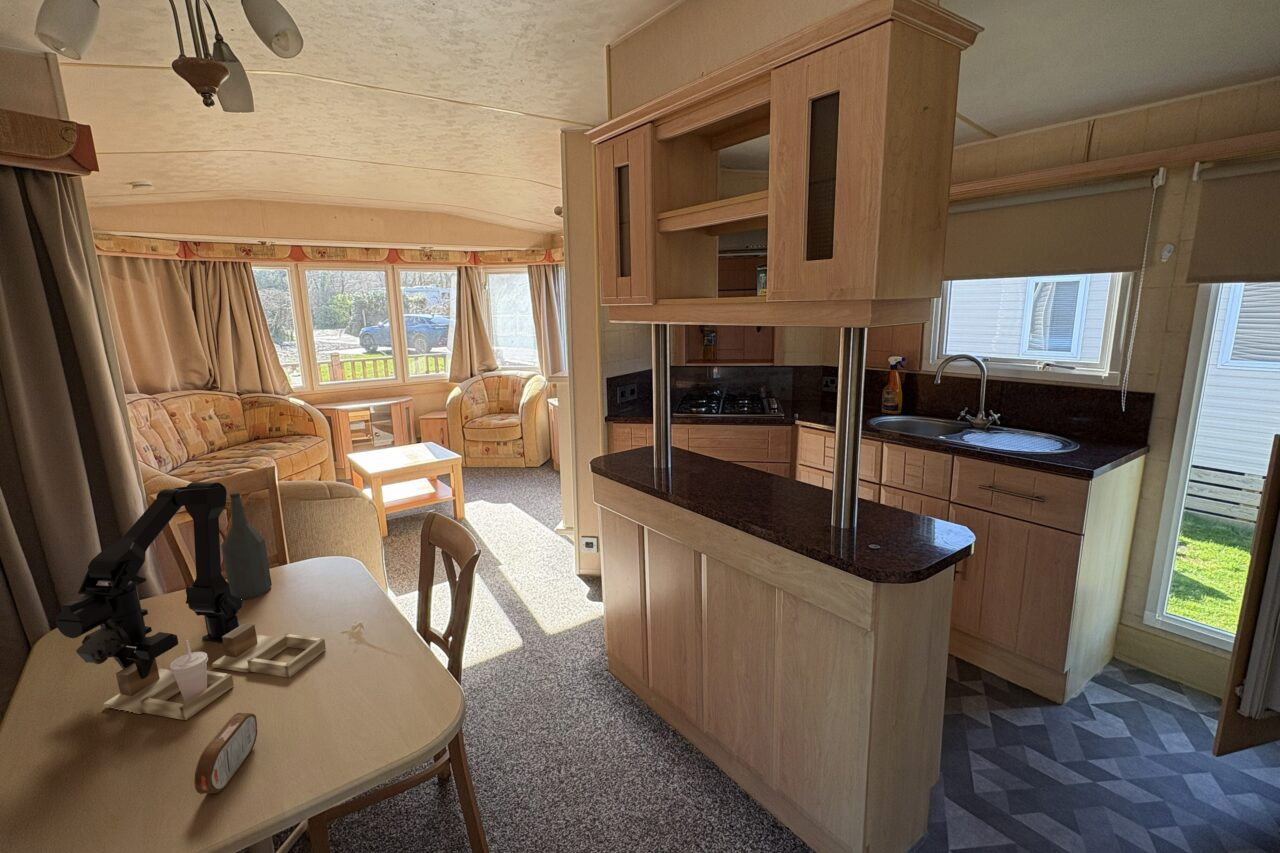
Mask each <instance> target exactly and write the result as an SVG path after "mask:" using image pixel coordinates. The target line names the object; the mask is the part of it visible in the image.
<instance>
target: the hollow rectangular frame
mask: <svg viewBox="0 0 1280 853" xmlns="http://www.w3.org/2000/svg"><path fill="white" fill-rule="evenodd" d="M222 639H223V642H222V644H223V649H224V655H223V656H221V657H220V658H218V659H216V660H215V661H214V662H212V668H216V669H222V670H229V671H235V672H241V673H249V672H251V673H258V674H263V675H265V674H266V675H271V676H272V675H273V676H277V677H283V678H292V677H293V676H294V675H295V674H296V673H298V672H299V671H300V670H302V669H303V668H304V667H305V666H307V665H308V664H309V663H311V662H312V661H313V660H314V659H315V658H317V657H318V656H320V654H322V653H323V652H324V651H326V650H327V648H326V647H327V646H326V641H325V638H322V637H321V638H320V637H313V636H307V635H306V636H305V635H298V634H290V633H285V634H283V635H281V636H280V637H276V636H270V635H269V636H268V635H261V634H257V631H256V624H254V623H246V622H244V623H241V624H239V627H237V628H235V629H234V630H232V631H231V632H229V633H227V634H226V635H224V636H223V637H222ZM286 648H294V649H295V648H296V649H303V650H304V651H302V652H301V653H300V654H298V655H297V656H295V657H294V658H293V659H292V660H290V661H289V662H283V661H276V660H271V659H273V658H274V657H276V656H277V655H279V654H280V653H281V652H282V651H284V650H285V649H286Z"/></svg>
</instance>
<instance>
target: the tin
mask: <svg viewBox="0 0 1280 853" xmlns="http://www.w3.org/2000/svg"><path fill="white" fill-rule="evenodd" d="M257 736H258V721H257V716H256V715H255V714H254V713H251V712H249V713H247V712H244V713H243V712H236V713H234V714H233V715H231V717H230V718H229V719H228V720H227V722H225V724H224V725H223V726H222V728H221V729H220V730H219V731H218V732H217V734H216V735H214V737H213V738H212V739H211V740H210V741H209V742H208V743H207V745H206V746H205V748H204V749H203V751H202V752H201V754H200V756H199V759H198V761H197V764H196V768H195V772H194V777H193V778H194V782H193V783H194V788H195V791H196V793H198V794H199V795H204V794H216V793H220V792H221V791H222V790H224V789H225V787H226V786H228V784H229V783H230V781H231V780H232V779H233V777H234V776H235V774H236V773H237V772H238V771H239V770H240V768H241V767H242V766H243V764H244V762H245V761H246V760H247V758H249V756H250V754H251V753H252V751H253V748H254V747H255V744H256V741H257Z"/></svg>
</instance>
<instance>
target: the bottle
mask: <svg viewBox="0 0 1280 853" xmlns="http://www.w3.org/2000/svg"><path fill="white" fill-rule="evenodd" d="M229 498H230V508H231V509H230V510H231V511H230V512H231V527H230V529H229V530H228V532H227V534H226V536H225V539H224V540H223V541H222V544H220V550H221V552H222V558H223V559H222V560H223V564H224V570H225V574H226V575H225V576H226V581H227V583H228V584H229V587H230V592H231V595H232V596H234V597H237V598H239V599H242V600H250V598H251V599H254V598H253V597H255V598H257V596H258V597H260V596H261V594H262V595H263V593H264V594H266V593H267V592H268V591H269V590H270V589H271V587H272V585H273V584H272V577H271V572H270V564H269V559H268V553H267V547H266V540H265V538H264V537H263V536H262V534H260V533H259V532H258V531H257V530H256V529H255V528H254V527H253V526H252V525H250V524H249V521H248V519H247V514H246V512H245V509H244V506H243V505H244V504H243V503H242V500H241V493H240V492H239V491H234V492H231V493H230V494H229ZM269 588H270V589H269ZM265 592H266V593H265ZM259 595H260V596H259Z"/></svg>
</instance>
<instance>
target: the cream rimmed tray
mask: <svg viewBox="0 0 1280 853" xmlns="http://www.w3.org/2000/svg"><path fill="white" fill-rule="evenodd" d="M115 675H116V681H117V684H118V689H119V693H118V694H116V695H115V696H112V698H110V699H108V700H107V701H105V702H103V707H104V706H109V707H114V708H118V709H122V710H126V711H129V712H128V713H131V712H133V713H132V714H138V715H142V714H147V715H154V716H159V717H160V716H161V717H165V718H171V719H177V720H180V721H181V720H183V721H188V720H189V719H190V718H192V717H193V716H195V714H197V713H199V712H200V711H202V709H204V708H205V707H207V706H208V705H209V704H211V703H212V702H214V701H215V700H217V699H218V698H219V697H221V696H222V695H224V694H225V693H226V692H227V691H229V690H230V689H232V688H233V687H234V686H235V684H234V678H233V674H230V673H225V672H220V671H219V672H218V671H212V670H207V686H208V687H207V689H206V690H204V691H203V692H201V693H200V694H198V695H197V696H196V697H194V698H193V699H191V700H190V701H188V702H187V703H185V702H184V703H179V702H178V703H177V702H175V701H169V699H170V698H172V697H173V696H175V695H177V694H178V693H179V692H181V691H180V689H179V686H178V684H177V681H176V679H175V677H174V674H173V673H171V672H170V669H166V668H158V665H157V657H156V658H155V659H154V661H153V664H152V666H151V669H150V672H149V674H148V676H147V677H146V678H144V679H141V677H140V675H139V673H138V670H137V667H136V665H135V663H133V664H131V665H130V666H128V667H126V668H124V669H123V668H122V669H120V670H119V671H117V672H115ZM126 711H125V712H126Z"/></svg>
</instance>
